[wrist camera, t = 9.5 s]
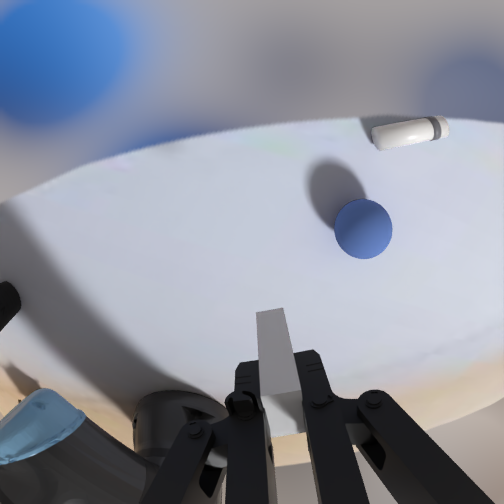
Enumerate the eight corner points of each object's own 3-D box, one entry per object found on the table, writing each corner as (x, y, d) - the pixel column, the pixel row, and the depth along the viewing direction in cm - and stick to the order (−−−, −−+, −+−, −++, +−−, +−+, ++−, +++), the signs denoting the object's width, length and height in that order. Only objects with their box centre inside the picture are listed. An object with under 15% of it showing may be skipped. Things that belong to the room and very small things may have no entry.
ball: (399, 251, 27) (348, 265, 30) (384, 198, 28) (335, 213, 30) (398, 249, 22) (336, 265, 25) (380, 185, 23) (321, 203, 26)
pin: (377, 124, 24) (444, 113, 23) (368, 129, 26) (433, 117, 26) (386, 149, 24) (452, 136, 24) (376, 152, 27) (439, 139, 26)
